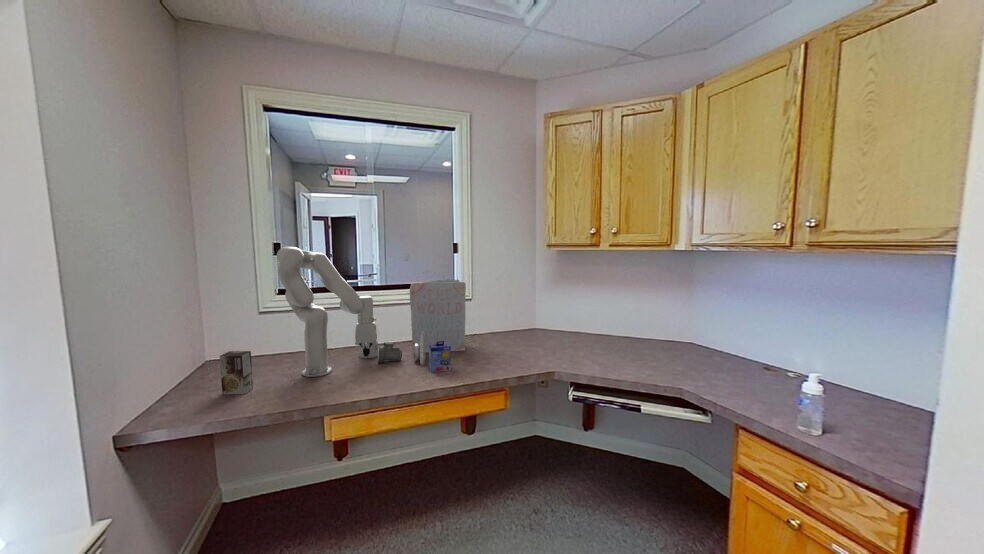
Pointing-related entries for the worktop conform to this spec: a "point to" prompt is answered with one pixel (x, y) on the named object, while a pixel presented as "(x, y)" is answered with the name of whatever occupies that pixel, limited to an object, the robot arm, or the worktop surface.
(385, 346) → the pipe fitting
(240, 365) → the coffee box
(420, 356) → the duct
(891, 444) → the worktop surface
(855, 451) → the worktop surface
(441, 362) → the ink cartridge box
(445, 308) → the grey shopping bag
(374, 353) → the electric toothbrush
